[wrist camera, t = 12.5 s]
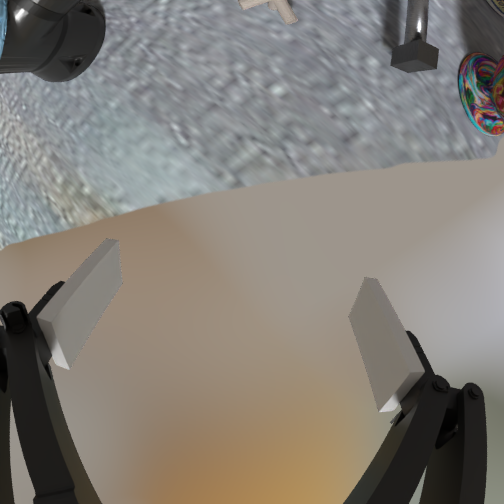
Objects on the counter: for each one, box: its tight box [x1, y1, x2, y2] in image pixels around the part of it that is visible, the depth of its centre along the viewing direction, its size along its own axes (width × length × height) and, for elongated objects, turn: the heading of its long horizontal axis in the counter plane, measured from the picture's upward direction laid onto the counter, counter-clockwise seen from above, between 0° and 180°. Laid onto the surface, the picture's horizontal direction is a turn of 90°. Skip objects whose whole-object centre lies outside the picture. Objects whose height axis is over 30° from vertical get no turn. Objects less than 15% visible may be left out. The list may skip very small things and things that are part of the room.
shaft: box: [390, 0, 439, 73], centre depth 22 cm, size 3×23×8 cm, turn 171°
